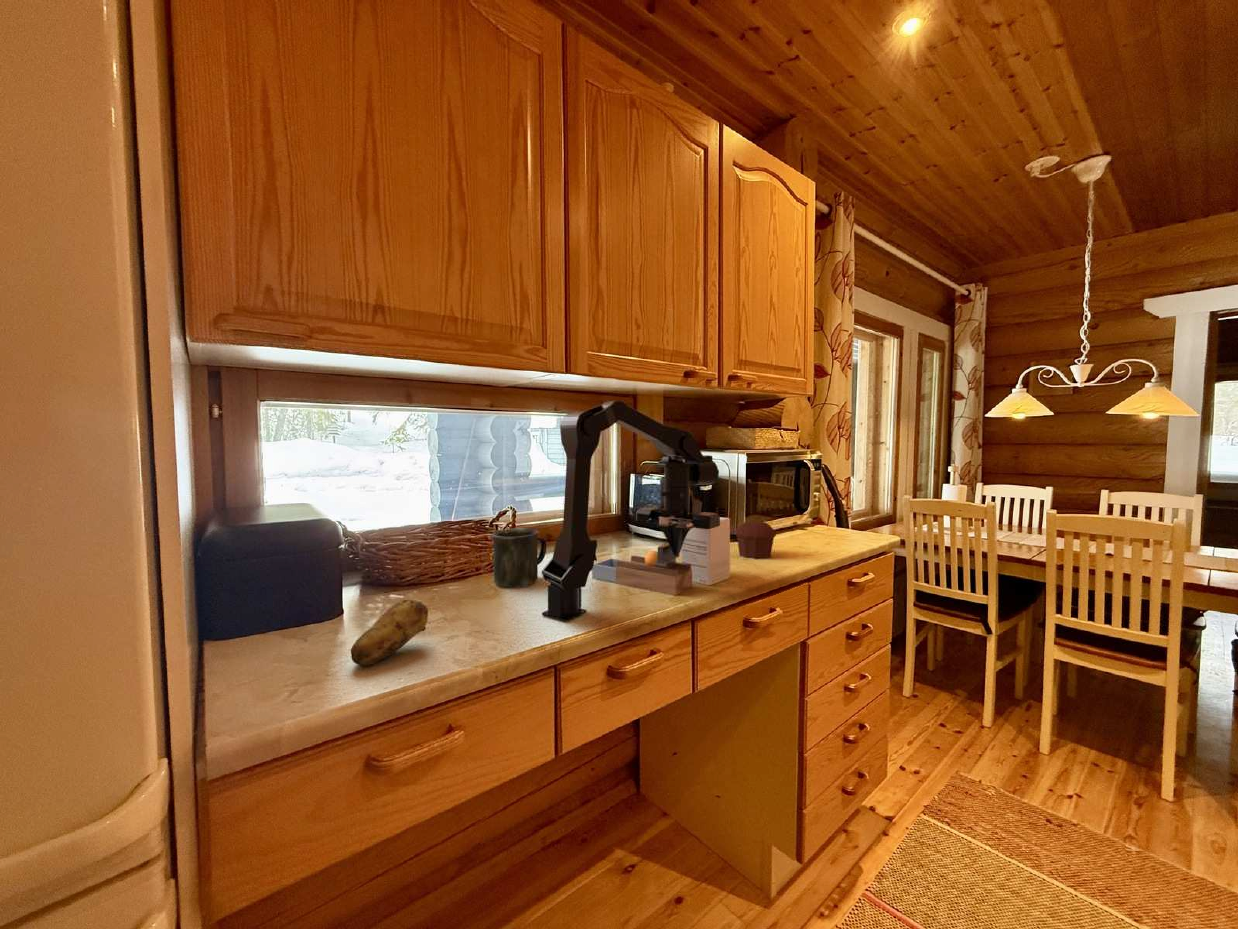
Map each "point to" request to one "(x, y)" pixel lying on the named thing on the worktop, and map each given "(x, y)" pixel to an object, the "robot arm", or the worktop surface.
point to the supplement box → (708, 553)
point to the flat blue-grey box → (606, 570)
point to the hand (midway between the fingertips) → (676, 555)
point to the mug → (517, 556)
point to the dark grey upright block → (666, 557)
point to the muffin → (755, 539)
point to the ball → (651, 558)
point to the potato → (390, 632)
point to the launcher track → (654, 576)
